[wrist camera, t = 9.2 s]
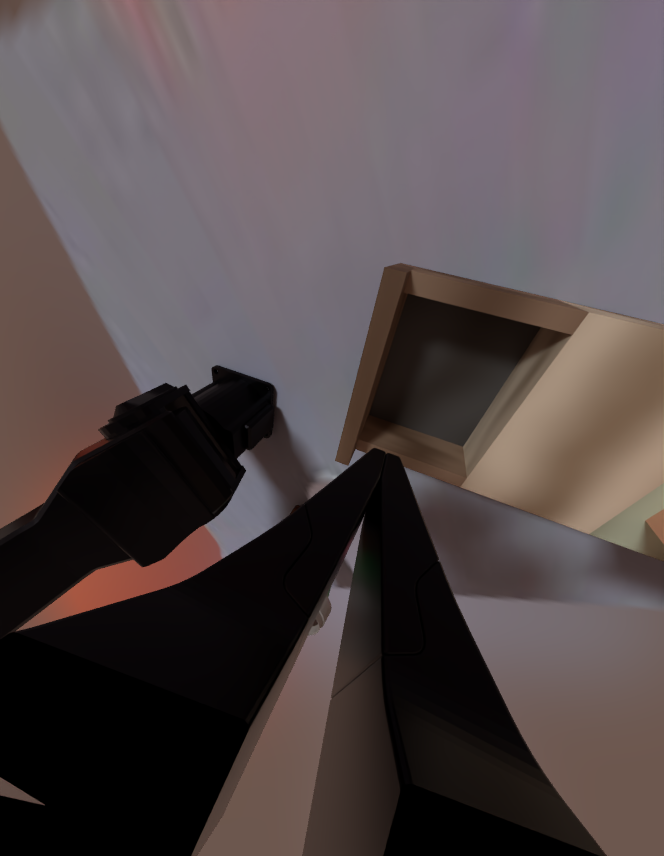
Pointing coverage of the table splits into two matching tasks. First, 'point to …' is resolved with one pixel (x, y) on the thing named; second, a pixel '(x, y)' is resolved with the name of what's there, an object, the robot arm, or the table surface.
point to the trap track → (516, 401)
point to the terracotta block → (657, 524)
